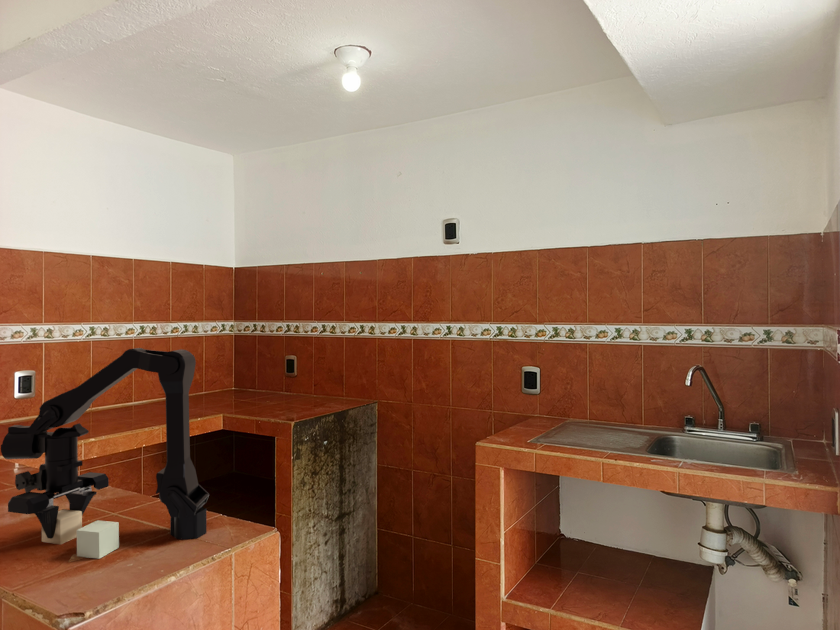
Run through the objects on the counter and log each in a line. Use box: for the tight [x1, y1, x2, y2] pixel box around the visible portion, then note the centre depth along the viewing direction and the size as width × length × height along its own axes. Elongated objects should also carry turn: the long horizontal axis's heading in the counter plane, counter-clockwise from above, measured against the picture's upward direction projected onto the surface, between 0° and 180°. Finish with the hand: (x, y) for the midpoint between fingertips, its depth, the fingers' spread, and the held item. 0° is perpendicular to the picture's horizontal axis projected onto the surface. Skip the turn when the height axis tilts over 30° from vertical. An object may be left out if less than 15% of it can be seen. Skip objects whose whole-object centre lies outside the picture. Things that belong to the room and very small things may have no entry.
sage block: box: [76, 519, 120, 560], centre depth 108 cm, size 5×5×5 cm
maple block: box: [41, 508, 83, 545], centre depth 116 cm, size 5×5×5 cm
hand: (62, 533), depth 116 cm, fingers closed on maple block, 5 cm apart
